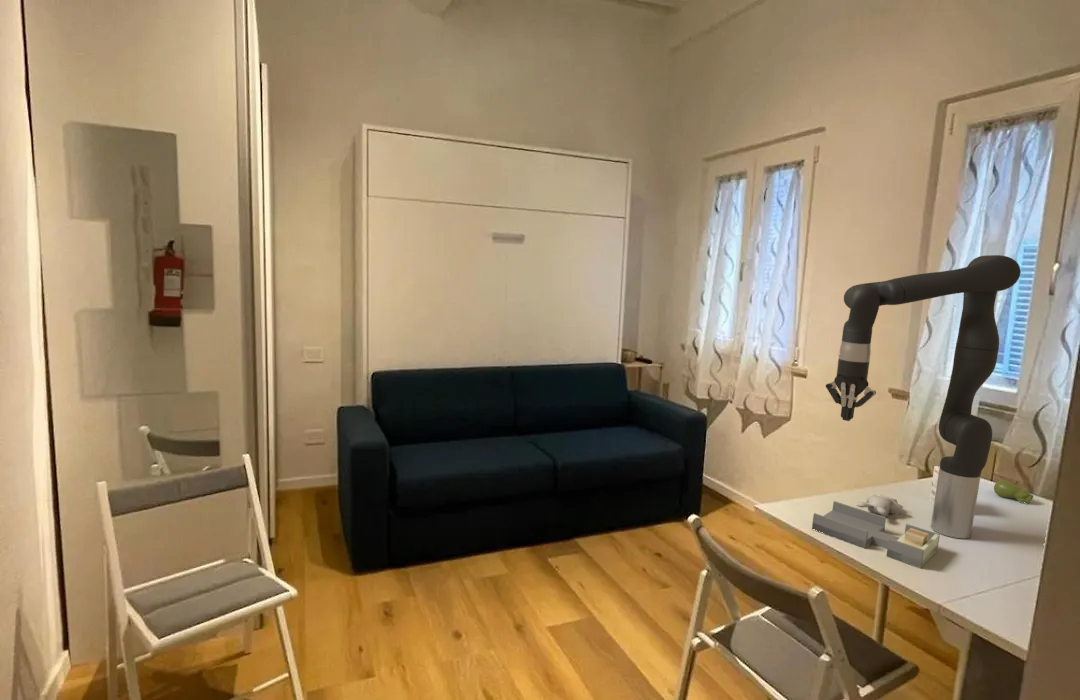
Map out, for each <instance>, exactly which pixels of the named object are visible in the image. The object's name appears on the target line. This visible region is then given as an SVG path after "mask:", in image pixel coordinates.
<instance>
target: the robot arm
mask: <svg viewBox="0 0 1080 700" xmlns="http://www.w3.org/2000/svg"><path fill="white" fill-rule="evenodd" d="M1020 277H1021V267H1020V265H1019V263H1018V261H1017V260H1015V259H1013V258H1012V257H1009V256H1007V255H1006V256H1005V255H1001V254H1000V255H997V254H995V255H993V254H991V255H990V254H989V255H981V256H978V257H975V258H974V259H972V260H971V261H970V262H969V263H968V265H967V266H966V267H962V268H957V269H949V270H944V271H935V272H926V273H917V274H912V275H907V276H901V277H894V278H892V279H888V280H883V281H875V282H874V281H873V282H867V283H859V284H855V285H853V286H851V287H849V288H848V289H847V290H846V291H845V292H844V295H843V302H844V304H845V306H846V307H847V308H849V314H848V320H846V321H845V322H844V324H843V327H842V338H841V344H840V347H839V353H838V360H837V367H836V368H837V369H836V376H835V377H834V380H833V381H831V382H829V383H826V384H825V388H826V389H827V391H828V392H829V393H828V394H829V395H830V396H831V398H832V400H833V401H834V403H835V404H839V405H840V406H841V411H840V418H842V420H843V421H846V422H850V421H851V420H853V418H854V415H855V408H859V407H862V406H863V405H864V404H866V403H867V402H868V401H870V399H872V398H873V397H874V396H875V395H876V394H877V391H876V390H873V389H872V388H871V387H870V386H869V382H868V375H869V370H870V369H869V368H870V361H871V347H872V345H871V343H872V337H873V336H872V335H873V327H874V324H875V322H876V319H877V316H878V312H879V309H880V307H882V306H899V305H904V304H909V303H914V302H921V301H925V300H929V299H934V298H939V297H944V296H949V295H955V294H956V295H957V294H961V293H963V300H962V310H961V315H960V320H959V321H960V323H959V327H958V334H957V338H956V343H955V349H954V355H953V363H952V364H953V365H952V369H951V375H950V380H949V385H948V389H947V390H948V391H947V394H946V397H945V400H944V401H945V402H944V404H943V407H942V411H941V414H940V418H939V424H938V432H939V435H940V437H941V438H942V439H943V440H944V441H945V442H947V443H949V444H952V445H954V446H955V450H954V453H953V455H951V456H944V457H942V458H941V459H940V462H939V466H940V468H939V474H938V481H937V488H936V494H935V501H934V505H933V510H932V515H931V523H930V527H931V529H932V530H933V531H934V532H935V533H936V532H937V534H940V535H944V536H946V537H951V538H955V539H969V538H971V536H972V532H973V530H972V529H973V525H974V518H975V513H976V508H977V506H976V505H977V499H978V495H979V489H980V482H981V476H982V472H983V469H985V467H986V465H987V462H988V458H989V453H990V449H991V445H992V441H993V428H992V425H991V424H990V422H989V421H988V420H986V419H984V418H982V417H980V416H977V415H973V414H972V410H973V409H972V408H973V404H974V403H973V402H974V399H975V396H976V394H977V392H978V390H980V388H981V387H982V386H983V384H984V383H986V381H987V380H988V379H989V378H990V377H991V375H993V372H994V370H995V369H996V367H997V360H998V356H999V349H1000V336H999V335H1000V334H999V330H998V326H997V323H996V318H995V305H996V304H995V303H996V299H997V294H998V292H1001V291H1005V290H1008V289H1010V288H1011V287H1013V286H1015V284H1016V283H1017V282H1018V281H1019V279H1020ZM863 391H864V392H863ZM839 392H840V393H839ZM862 393H863V394H864V395H863V396H862V397H861V398H860V399H859V400H858V398H859V396H860V395H861V394H862Z"/></svg>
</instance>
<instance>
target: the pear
mask: <svg viewBox="0 0 1080 700" xmlns="http://www.w3.org/2000/svg"><path fill="white" fill-rule="evenodd" d="M993 490H994V493H995V494H996V495H997V496H998V497H1001V498H1010V499H1015V500H1016V501H1018V502H1019V501H1020V502H1019V503H1021V502H1023V503H1024V502H1025V503H1028V504H1029V503H1030V502H1031V501H1032V499H1034V494H1031V492H1030V491H1028V490H1027V489H1024V488H1021V487H1020V486H1018V484H1017V485H1016V484H1015V483H1013V482H1010V481H1007V480H998V481H997V482H996V483H995V484H994V486H993ZM1023 503H1022V504H1023Z"/></svg>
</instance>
